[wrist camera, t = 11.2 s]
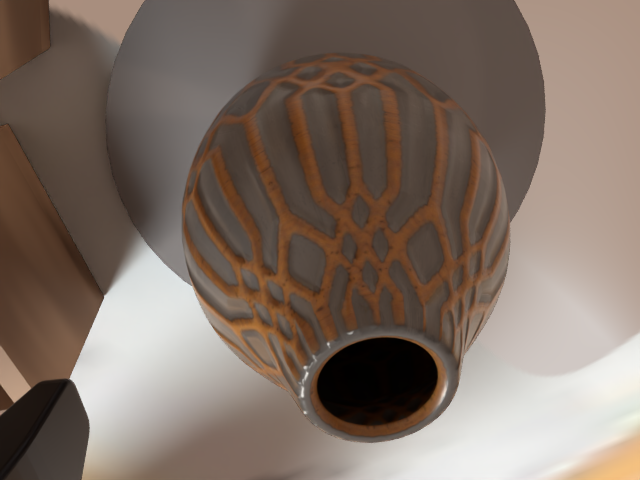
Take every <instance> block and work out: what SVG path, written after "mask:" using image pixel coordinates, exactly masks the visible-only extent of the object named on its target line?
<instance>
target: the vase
mask: <svg viewBox="0 0 640 480" xmlns="http://www.w3.org/2000/svg"><path fill="white" fill-rule="evenodd" d="M182 243H183V249H184V255H185V260H186V265H187V269H188V273H189V276H190V280H191V283H192V286H193V289H194V291H195V294H196V296H197V299H198V301H199V303H200V306H201V308H202V310H203V312H204V314H205V315H206V317H207V319H208V320H209V322H210V324H211V325H212V327H213V328H214V330H215V331H216V333H217V334H218V336H219V337H220V338H221V339H222V341H223V342H224V343H225V344H226V345H227V346H228V347H229V348H230V349H231V351H232V352H233V353H234V354H235V355H236V356H238V357H239V358H240V359H241V360H242V361H243V362H244V363H245V364H247V365H248V366H249V367H251V368H252V369H253V370H255V371H256V372H258V373H259V374H260V375H262V376H263V377H265V378H267V379H268V380H270V381H271V382H273V383H275V384H276V385H278V386H279V387H281V388H283V389H284V390H286V391H288V392H289V393H290V394H291V396H292V397H293V399H294V400H295V402H296V403H297V405H298V407H299V408H300V409H301V411H302V412H303V414H304V415H305V416H306V417H307V419H308V420H309V421H310V422H311V423H312V424H314V425H315V426H316V427H317V428H319V429H320V430H322V431H324V432H325V433H327V434H329V435H331V436H334V437H337V438H340V439H343V440H347V441H353V442H362V443H374V442H384V441H390V440H394V439H398V438H402V437H405V436H407V435H410V434H412V433H415V432H417V431H419V430H421V429H422V428H424V427H426V426H427V425H429V424H430V423H432V422H433V421H434V420H435V419H437V418H438V417H439V416H440V415H441V414H442V413H443V412H444V411H445V409H446V408H447V407H448V406H449V404H450V403H451V401H452V399H453V398H454V396H455V393H456V391H457V388H458V385H459V380H460V375H461V369H462V362H463V356H464V355H465V353H466V352H467V351H468V349H469V348H470V346H471V345H472V344H473V342H474V341H475V339H476V338H477V336H478V335H479V333H480V332H481V330H482V329H483V327H484V325H485V324H486V322H487V320H488V319H489V317H490V315H491V313H492V311H493V309H494V307H495V305H496V303H497V300H498V298H499V295H500V292H501V289H502V287H503V284H504V280H505V276H506V272H507V266H508V260H509V252H510V219H509V210H508V203H507V198H506V193H505V188H504V184H503V181H502V177H501V174H500V171H499V168H498V165H497V163H496V161H495V158H494V156H493V154H492V151H491V149H490V147H489V145H488V144H487V142H486V140H485V138H484V136H483V135H482V133H481V132H480V130H479V129H478V127H477V126H476V125H475V124H474V122H473V121H472V120H471V118H470V117H469V116H468V115H467V113H466V112H465V111H464V110H463V109H462V108H461V107H460V106H459V105H458V104H457V103H456V102H455V101H454V100H453V99H452V98H451V97H450V96H449V95H448V94H447V93H445V92H444V91H443V90H442V89H441V88H440V87H438V86H437V85H435V84H434V83H433V82H431V81H430V80H428V79H427V78H425V77H424V76H422V75H420V74H419V73H417V72H415V71H414V70H412V69H410V68H407V67H405V66H403V65H401V64H398V63H396V62H393V61H390V60H387V59H384V58H380V57H376V56H371V55H365V54H356V53H325V54H318V55H312V56H307V57H303V58H299V59H296V60H293V61H290V62H287V63H285V64H282V65H280V66H278V67H276V68H274V69H271V70H269V71H268V72H266V73H264V74H262V75H261V76H259V77H257V78H256V79H254V80H253V81H252V82H250V83H249V84H247V85H246V86H245V87H244V88H242V89H241V90H240V91H239V92H237V93H236V94H235V95H234V96H233V97H232V98H231V99H230V100H229V101H228V102H227V104H226V105H225V106H224V107H223V108H222V109H221V110H220V112H219V113H218V115H217V116H216V117H215V119H214V120H213V122H212V123H211V125H210V127H209V128H208V130H207V132H206V133H205V135H204V137H203V139H202V141H201V143H200V145H199V147H198V149H197V152H196V154H195V157H194V159H193V162H192V164H191V167H190V170H189V174H188V177H187V181H186V186H185V191H184V196H183V202H182Z"/></svg>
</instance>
